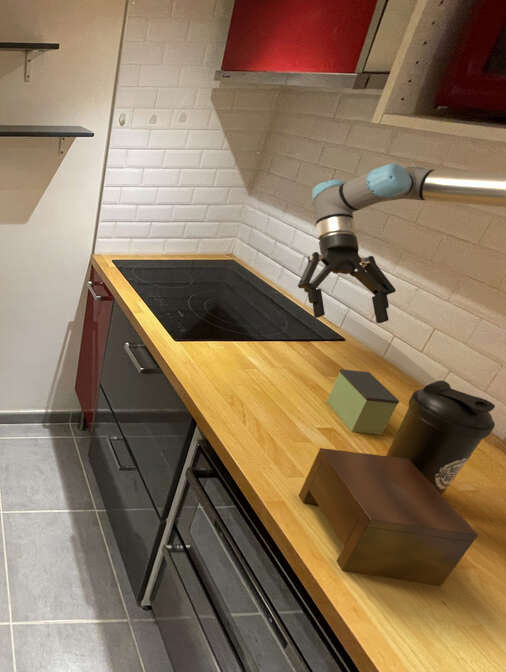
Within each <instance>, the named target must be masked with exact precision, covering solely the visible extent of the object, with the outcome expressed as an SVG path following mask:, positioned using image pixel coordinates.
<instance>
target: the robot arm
mask: <svg viewBox="0 0 506 672" xmlns="http://www.w3.org/2000/svg"><path fill="white" fill-rule="evenodd" d="M311 196H312V197H311V198H312V201H311V203H312V207H313V213H314V218H315V224H316V230H317V236H318V240H319V241H318V245H319V251H320V252H318V251H314V252H313V253H311V254H309V255H308V256H307V264H306V267H305V268H304V271H303V272H302V275H301V277H300V280H299V282H298V283H297V287H298V288H299V289H303V292H305V293H307V297H308V299H307V300H308V302H309V304H312V310H313V316H314V317H313V318H317V319H319V318H321V317H323V316H325V314H326V313H325V307H324V300H323V299H324V298H323V293H322V288H318V287H319V286H320V285H321V284H322V283H323V282H324V280H325V279H326V278H327V277H328V276H329V275H330V273H333V274H343V275H350V276H351V277H353V278H355V279H356V280H357V281H358V282H360V283H361V285H362V286H364V287H365V288H366V289H367V290H368V291H370V293H372V294H373V295H374V296H371V300H372V305H373V311H374V312H373V313H374V316H375V322H376V324H382V323H385V322H389V320H390V319H389V315H388V310H387V309H389V307H390V304H389V300H388V299H389V298H388V295H391V294H393V293H396V292H397V291H396V288H395V287H394V285H393V284H392V283H391V282H390V280H389V279H388V278H387V276H386V275H385V274H384V272H383V271H382V270H381V268H380V267H379V266H378V264H377V262H376V259H375V257H374V256H373V255H368V256H367V257H362V256H360V254H359V249H360V247H359V242H358V237H357V236H356V235H357V230H356V225H355V220H354V212H357V211H359V210H363V209H365V208H367V207H371V206H374V205H376V204H378V203H382V202H390V201H397V200H413V201H428V202H437V203H439V202H441V203H450V204H460V205H461V204H463V205H471V206H482V207H483V206H485V207H494V208H495V207H496V208H505V209H506V171H491V170H470V169H469V170H468V169H467V170H466V169H442V168H441V169H439V168H435V169H434V168H426V167H420V166H408V167H403V166H402V165H399V164H398V163H392V162H391V163H388V164H385V165H383V166H380V167H376V168H374V169H372V170H371V171H369V172H367V173H365V174H363V175H360V176H358V177H356V178H354V179H351V180H349V181H347V182H345V181H344V180H341V179H330V180H328V181H322V182H319V183H318V184H317V185H315V186H314V187H313V189H312V191H311ZM320 262H321V263H323V265H324V267H323V268H322V269H321V270H320V272H319V273H318V274H317V275H316V276H315V277H314V279H312V278H313V276H314V274H315V271H316V269H317V267H318V265H319V263H320Z"/></svg>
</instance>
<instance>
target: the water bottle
mask: <svg viewBox="0 0 506 672" xmlns="http://www.w3.org/2000/svg"><path fill="white" fill-rule="evenodd" d="M495 407H496V405H495V404H494V403H492V402H491V401H489V400H487V399H485V398H482V397H478V396H474V395H471V394H468V393H466V392H462V391H459V390H457V389H453V388H451V385H450V384H449V383H448V382H447V381H446V380H437V381H433V382H432V383H429V384H426V385H425V386H424V387H423V388H422V389H418V390H415V391H414V392H413V393H412V395H411V396H410V399H409V400H408V409H407V411H406V413H405V415H404V417H403V419H402V421H401V423H400V425H399V428H398V430H397V432H396V434H395V436H394V438H393V440H392V442H391V444H390V447H389V449H388V451H387V452H386V455H385V456H388V457H396V458H404V459H409V460H410V461H411V462H412V463H413V464H414V465H415V466H416V468H417V469H418V470H419V471H420V472H421V473H422V474H423V475H424V476H425V477H426V478H427V480H428V481H429V482H430V483H431V484H432V485H433V486H434V487H435V488H436V489H437V490H438V491H439V493H440V494H441V495H442V496H443V494H444V493H445V491H446V490H447V489H448V488H449V487H450V485H451V484H452V482H453V481H454V480H455V479H456V477H457V476H458V474H459V473H460V471H461V470H462V469H463V468H464V466H465V464H467V462H468V461H469V459H470V457H472V454H473V453H474V451H475V450H476V449H477V448H478V446H479V444H480V443H481V442H482V440H483V439H486V438H487V437H489V436H490V435H491V433H492V432H493V430H494V428H495V426H496V424H495V421H494V419H493V415H492V414H491V413H490V412H491V411H493V410H494V409H495Z"/></svg>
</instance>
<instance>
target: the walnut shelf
mask: <svg viewBox="0 0 506 672" xmlns="http://www.w3.org/2000/svg"><path fill="white" fill-rule="evenodd" d="M298 497H299V498H300V501H301V502H302V503H304V504H311V505H318V507H319V509H320V511H321V513H322V514H323V515H324V517H325V518H326V520H327V522H328V524H329V525H330V528H332V530H333V532H334V534H335V535H336V536H337V539H339V541H340V543H341V545H342V546H343V548H342V550H341V551H340V553H339V554H338V556H337V559H336V563H337V564H338V566H339V568H340V570H342V571H344V572H351V573H357V574H363V575H370V576H374V577H375V576H376V577H381V578H387V579H395V580H399V581H400V580H401V581H407V582H413V583H418V584H419V583H420V584H426V585H433V586H437V587H438V586H439V587H441V586H442V585H443V584H444V583H445V581H446V580H447V578H448V577H449V576H450V574H452V572H453V571H454V569H455V568H456V566H457V565H458V564H459V562H460V561H461V560H462V558H463V557H464V556H465V555H466V553H467V551H468V550H469V549H470V547H471V546H472V545H473V543H474V541H476V539H477V538H478V536H479V534H478V532H476V531H475V529H474V528H473V527H472V526H471V525H470V523H468V522H467V521H466V520H465V518H464V517H463V516H462V515H461V514H460V513H459V512H458V511H457V510H456V509H455V507H454V506H453V505H452V504H451V503H450V502H449V501H448V499H446V497H444V496H443V494H442V495H441V494H440V493H439V491H438V490H437V489H436V488H435V487H434V486H433V485H432V484H431V483H430V482H429V481H428V480H427V478H426V477H425V476H424V475H423V474H422V473H421V472H420V471H419V470H418V469H417V468H416V466H415V465H414V464H413V463H412V462H411V461H410V460H409V459H404V458H396V457H388V456H386V455H379V454H371V453H363V452H357V451H356V452H355V451H347V450H339V449H330V448H323V447H320V448H319V450H318V451H317V454H316V456H315V458H314V460H313V463H312V465H311V466H310V469H309V471H308V474H307V476H306V478H305V480H304V482H303V484H302V488H301V489H300V492H299V494H298Z"/></svg>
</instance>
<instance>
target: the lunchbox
mask: <svg viewBox="0 0 506 672" xmlns="http://www.w3.org/2000/svg"><path fill="white" fill-rule="evenodd" d="M326 403H327V404H328V405H329V407H330V408H331V409H332V410H333V411H334V412H335V414H336V415H337V416H338V417H339V418H340V420H341V421H342V422H343V423H344V425H345V426H346V427H347V428H348V429H349V431H350V432H351V433H360V434H369V435H376V436H377V435H378V436H382V435H383V433H384V431H385V429H386V427H387V426H388V424H389V422H390V419H391V418H392V416H393V414H394V412H395V410H396V408H397V406H398V404H400V400H399V399H398V398H397V397H396V396H395V395H394V394H393V393H392V392H391V391H390V390H389V389H388V388H387V387H386V386H385V385H383V384H382V383H381V382H380V380H378V379H377V378H376V377H375V376H374V375H373V374H372V373H371V372H370V371H362V370H353V369H340V370H339V372H338V375H337V377H336V380H335V381H334V383H333V385H332V388H331V391H330V393H329V395H328V398H327V399H326Z"/></svg>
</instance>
